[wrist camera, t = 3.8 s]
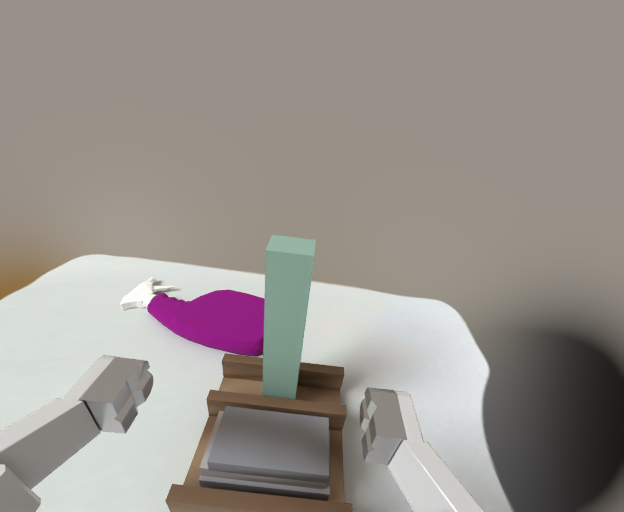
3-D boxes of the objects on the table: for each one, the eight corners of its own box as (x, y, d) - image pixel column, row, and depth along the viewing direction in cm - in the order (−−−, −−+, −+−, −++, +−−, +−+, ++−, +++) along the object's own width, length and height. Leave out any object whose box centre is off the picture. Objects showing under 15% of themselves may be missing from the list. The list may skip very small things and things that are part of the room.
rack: (342, 539, 22) (352, 521, 20) (174, 521, 22) (165, 500, 20) (337, 388, 34) (343, 365, 32) (227, 375, 34) (225, 351, 31)
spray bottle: (257, 366, 36) (105, 321, 40) (284, 312, 45) (158, 280, 49) (257, 351, 34) (98, 306, 38) (285, 299, 44) (154, 267, 48)
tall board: (293, 410, 29) (314, 256, 19) (262, 407, 29) (265, 250, 19) (296, 389, 31) (315, 240, 21) (266, 386, 31) (272, 234, 21)
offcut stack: (327, 501, 23) (335, 479, 21) (200, 487, 23) (194, 463, 21) (327, 438, 27) (334, 414, 25) (220, 426, 27) (217, 400, 25)
